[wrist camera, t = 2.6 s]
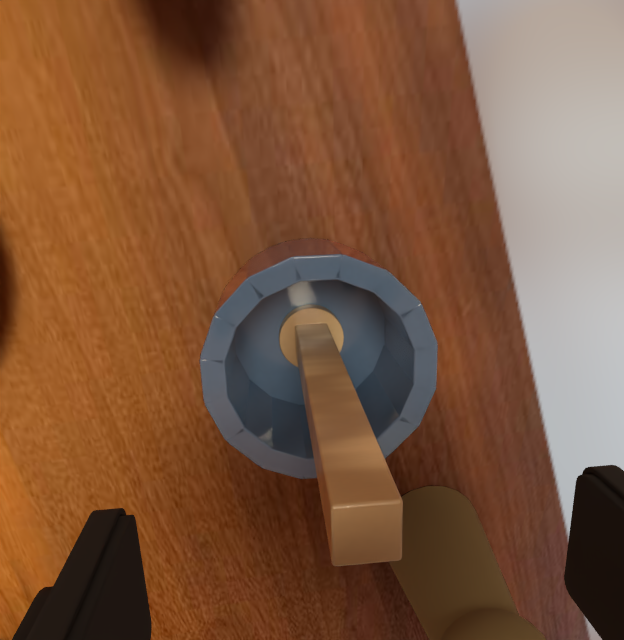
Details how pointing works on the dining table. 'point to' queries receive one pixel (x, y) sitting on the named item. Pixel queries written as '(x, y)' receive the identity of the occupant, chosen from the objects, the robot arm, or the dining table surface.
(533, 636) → the pepper shaker
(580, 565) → the robot arm
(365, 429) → the stick
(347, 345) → the holder
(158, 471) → the dining table surface
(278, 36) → the dining table surface
